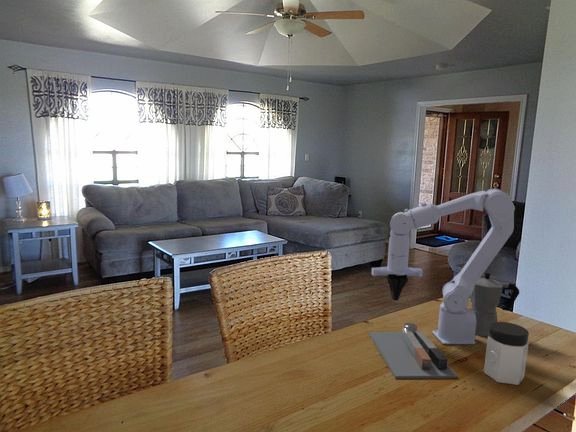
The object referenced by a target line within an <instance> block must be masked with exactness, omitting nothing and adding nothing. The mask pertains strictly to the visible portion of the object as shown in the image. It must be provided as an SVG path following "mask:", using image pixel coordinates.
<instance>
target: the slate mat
mask: <svg viewBox="0 0 576 432" xmlns="http://www.w3.org/2000/svg"><path fill="white" fill-rule="evenodd" d="M368 335H369V337H370V339H371V340H372V342H373V343H374V346H375V348H376V349H377V350H378V352H379V353H380V356H381V357H382V359H383V361H384V362H385V364H386V366H387V367H388V369H389V371H390V372H391V374H392V376H393V377H394V379H457V378H458V374H457V373H456V372H455V370H453V369H452V367H451V366H449V364H448V363H447V369H438V368H437V367H436V366H435V365H434V363H433V362H432V361H431V367H430V369H421V367H420V366H419V364H418V362H417V361H416V359H415V357H414V355H413V354H412V352H411V350H410V349H409V347H408V345H407V344H406V342H405V341H404V339H403V337H402V331H384V332H383V331H369V332H368Z"/></svg>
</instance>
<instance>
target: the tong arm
mask: <svg viewBox="0 0 576 432" xmlns="http://www.w3.org/2000/svg"><path fill="white" fill-rule="evenodd" d="M415 331H418V325H417V324H415V323H412V322H406V323H404V324H403V327H402V331H401V332H402V337H403V339H404V341H405V342H406V344H407V345H408V347H409V349H410V350H411V352H412V354H413V355H414V357H415V359H416V361H417V362H418V364H419V366H420V367H421V369H430V367H431V358H430V357H429V356H428V354H427V353H426V351H425V350H424V348H423V347H422V346H421V344H420V343H419V341H418V340H417V338H416V337H415Z"/></svg>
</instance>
